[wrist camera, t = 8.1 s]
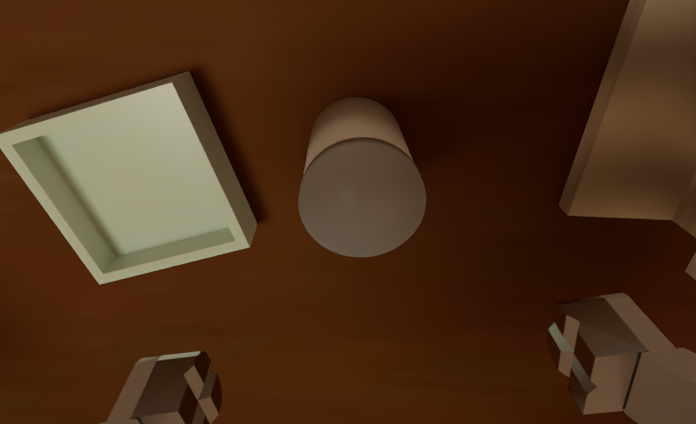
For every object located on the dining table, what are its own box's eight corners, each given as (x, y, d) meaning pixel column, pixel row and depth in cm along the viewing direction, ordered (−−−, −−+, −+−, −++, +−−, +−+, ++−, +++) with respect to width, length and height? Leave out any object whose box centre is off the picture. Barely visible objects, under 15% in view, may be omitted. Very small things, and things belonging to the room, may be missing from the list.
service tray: (257, 223, 25) (249, 247, 23) (118, 258, 26) (99, 284, 24) (189, 71, 21) (171, 82, 19) (26, 120, 22) (-9, 136, 20)
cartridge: (379, 196, 25) (393, 270, 18) (296, 167, 24) (281, 235, 17) (418, 117, 22) (449, 171, 16) (328, 80, 21) (325, 124, 15)
